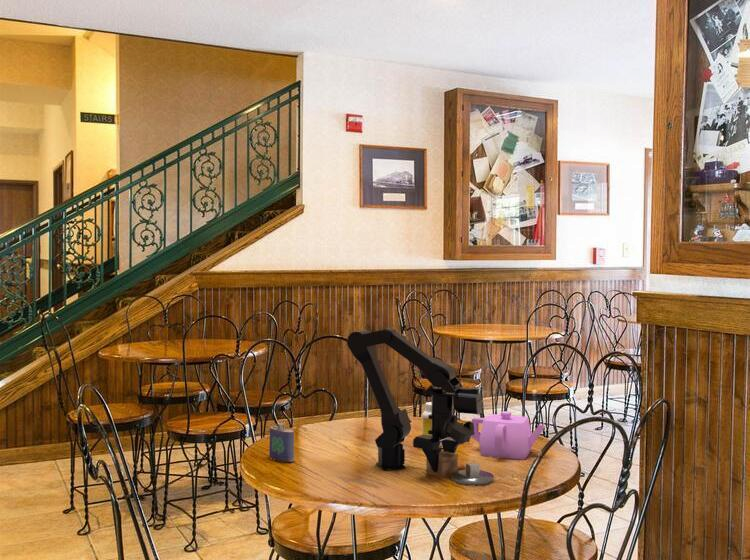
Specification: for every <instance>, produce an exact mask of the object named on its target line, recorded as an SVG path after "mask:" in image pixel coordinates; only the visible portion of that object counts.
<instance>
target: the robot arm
mask: <svg viewBox="0 0 750 560" xmlns="http://www.w3.org/2000/svg"><path fill="white" fill-rule="evenodd" d="M382 344H385V345H387V346H388V347H390V349H392V350H394V351H395V352H396V353H397V354H399V355H400V356H402V357H403V358H404V359H406V360H407V361H409V362H410V363H411V364H412V365H413V366H415V367H416V368H418V370H419V371H421V373H422V375H423V376H424V378H425V379H426V380H427V381H428V382H429V383H430V385H429V386H428V388H426V389H425V391H423V394H424V395H429V396H431V402H432V414H430V415H428V419H432V429H431V430H428V434H431V435H432V436H430V435H425V434H423V435H422V434H419V435H417V436H415V437H414V438H413V439H412V441H413V442H412V445H413V446H412V447H413V448H414V449H415V448H416V449H421V451H422V452H423V454H424V455H425V458H426V460H427V459H428V461H429V464H430V466H431V468H432V470H433V471H434V472H437V469H438V460H439V453H440V452H441V451H446V452H450V453H455V454H456V451H457V449H458V447H459V446H460V445H463V444H465V443H469V442H470V441H471V440H470V439H472V437H471V436H472V435H474V423H472V421H470V420H468V421H465V422H459V421H458V416H457V414H454V411H456V412H457V413H458V414H470V415H480V414H481V412H482V408H483V399H482V394H481V392H480V391H481V390H480V388H479V387H472V388H471V387H464V386H463V385H462V383H461V381H460V380H459V378H458V377H457V376H456V371H455V368H454V367H453V366H452V365H451V364H449V363H447V362H445V361H443V360H441V359H438V358H436V357H433V356H431V355H429V354H428V353H426V352H424V350H423V349H421V348H419V347H418V346H416V345H415V344H414V343H413V342H411V341H410V340H408V339H407V338H406V337H404V336H403V335H401V334H400V333H399V332H397V330H396V329H395V328H393V327H388V328H384V329H381V330H375V331H370V330H368V329H362V330H357V331H353V332H350V334H349V335H348V336H347V339H346V345H347V348H348V349H349V351H350V352H351V354H352V356H353V357H354V358H355V360H356V361H358V362H359V363H360V365H361V366H362V369H363V371H364V374H365V376H366V378H367V381H368V383H369V386H370V389H371V390H372V393H373V396H374V398H375V401H376V403H377V405H378V408H379V410H380V421H381V428H382V433H381V434H379V436H377V437H376V438H375V440H374V442H375V444H376V447H377V453H378V454H377V456H378V457H377V462H376V463H375V465H376V466H377V467H379V468H380V470H383V471H390V470H392V471H393V470H402V469H406V465H405V462H406V461H405V459H406V458H405V456H406V451H405V449H404V444H403V443H404V441H405V438H406V437H407V436H409V434H410V433H411V431H412V430H411V429H412V425H411V423H412V420H411V419H410V417H409V414H408V410H407V409H406V408H404V409H400V407H399V406H397V403H396V402H395V398H394V396H393V394H392V392H391V389H390V386H389V384H388V382H387V379H386V377H385V374H384V371H383V369H382V368H381V365H380V362H379V360H378V357H377V356H378V355H377V354H378V349H377V346H378V345H382ZM440 442H442V446H440Z"/></svg>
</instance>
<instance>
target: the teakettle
mask: <svg viewBox="0 0 750 560" xmlns="http://www.w3.org/2000/svg"><path fill="white" fill-rule="evenodd" d="M499 413H500V414H499ZM499 413H497V414H496V413H495V414H493V413H491V414H489V415H487V416H486V417H473V418H472V419H471V422H472V423H474V435H472V436H471V439H474V440H475V441H476V442H478V446H479V447H478V448H479V452H480V456H482V455H484V456H483V457H488V456H492V457H491V458H496V457H499V458H498V459H505V458H509V459H508V460H519V459H523V460H526V459H527V457H528V456H529V455H530V453H531V449H532V447H533V445H534V444H535V443H536V442H537V440H538V438H539V437H540V436H541V434H542V432H543V431H544V430H545V428H546V425H545V424H542V423H539V424H538V426H537V427H536V428H535V430H534V431H533V432H532V430H531V424H530V419H529V417H528V416H522V415H512V412H511V411H508V410H507V411H506V410H505V411H504V410H502V411H500V412H499ZM480 424H481V429H480V430H479V426H480ZM479 431H480V432H479Z"/></svg>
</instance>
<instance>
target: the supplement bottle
mask: <svg viewBox="0 0 750 560" xmlns="http://www.w3.org/2000/svg"><path fill="white" fill-rule="evenodd" d="M430 414H432V401H429V402H425V410H424V411H423V412H422V414H421V415H422V417H421V420H422V421H421V424H422V426H421V427H422V429H421V431H422V433H421V435H423V434H425V435H430V436H432V435H431V434H428V430H431V429H432V419H428V415H430ZM439 447H443V446H442V442H440V446H439Z"/></svg>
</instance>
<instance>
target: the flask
mask: <svg viewBox="0 0 750 560" xmlns="http://www.w3.org/2000/svg"><path fill="white" fill-rule="evenodd" d="M284 426H285V423H283V422H278V423H277V425H275V426H274V425H273V426H270V427H269V454H268V455H269V457H270V458H272V459H275V460H279V461H278V462H280V461H283V462H282V463H284V462H292V463H294V462H295V445H294V444H295V442H294V441H295V439H294V437H295V431H294V430H291V429H287V428H285V427H284ZM269 457H268V458H269ZM272 459H271V460H272ZM275 460H274V461H275ZM293 461H294V462H293Z"/></svg>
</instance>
